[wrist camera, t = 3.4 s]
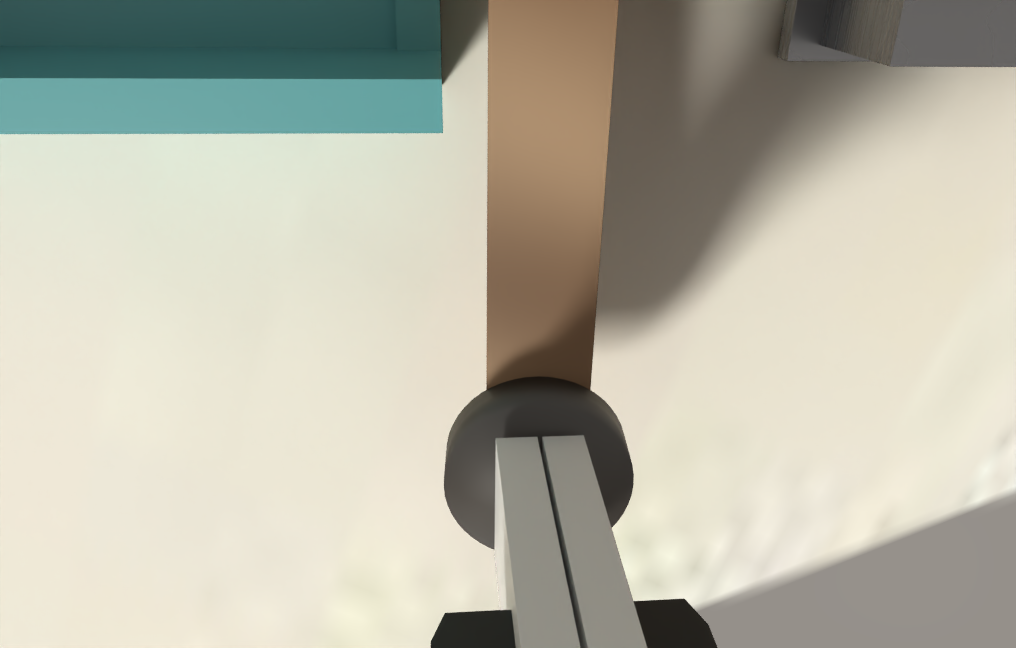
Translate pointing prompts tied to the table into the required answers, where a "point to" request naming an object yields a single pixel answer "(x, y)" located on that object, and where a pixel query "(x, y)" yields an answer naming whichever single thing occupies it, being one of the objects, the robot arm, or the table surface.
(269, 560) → the table surface
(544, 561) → the robot arm
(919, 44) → the stand
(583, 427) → the lever
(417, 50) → the tray
